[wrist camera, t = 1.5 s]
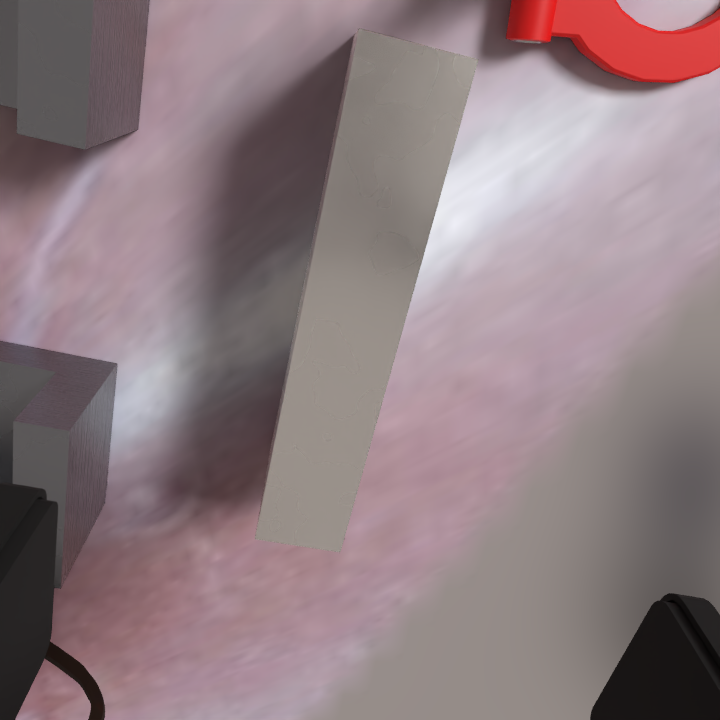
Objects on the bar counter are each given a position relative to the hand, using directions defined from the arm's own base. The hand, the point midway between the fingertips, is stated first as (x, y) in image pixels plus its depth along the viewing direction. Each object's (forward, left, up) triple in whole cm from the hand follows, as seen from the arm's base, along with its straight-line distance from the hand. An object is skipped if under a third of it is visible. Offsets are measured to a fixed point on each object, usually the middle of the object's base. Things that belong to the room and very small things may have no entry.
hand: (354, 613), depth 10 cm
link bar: (0, 0, -16) cm, 16 cm away
